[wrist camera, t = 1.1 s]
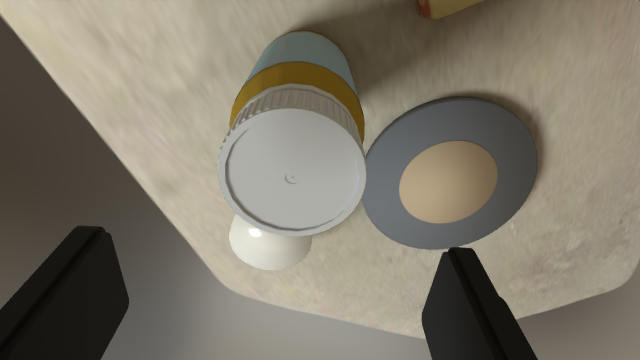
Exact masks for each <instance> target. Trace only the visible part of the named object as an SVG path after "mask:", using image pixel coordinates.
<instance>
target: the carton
mask: <svg viewBox="0 0 640 360" xmlns="http://www.w3.org/2000/svg"><path fill="white" fill-rule="evenodd" d="M481 1H484V0H417V4H418V8H419V15H422V16H424V17H426V18H429V19H433V20H436V19H439V18H442V17H445V16H447V15H450V14H452V13H455V12H457V11H459V10H462V9H464V8H467V7H470V6H472V5H474V4H477V3H479V2H481Z"/></svg>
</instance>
